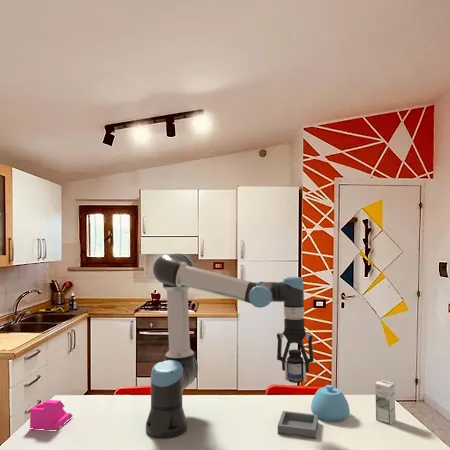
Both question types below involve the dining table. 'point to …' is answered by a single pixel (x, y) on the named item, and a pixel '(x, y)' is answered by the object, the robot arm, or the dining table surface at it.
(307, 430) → the bin
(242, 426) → the dining table surface
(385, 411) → the syrup box
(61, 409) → the bracket
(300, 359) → the pill bottle
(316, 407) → the sugar bowl
